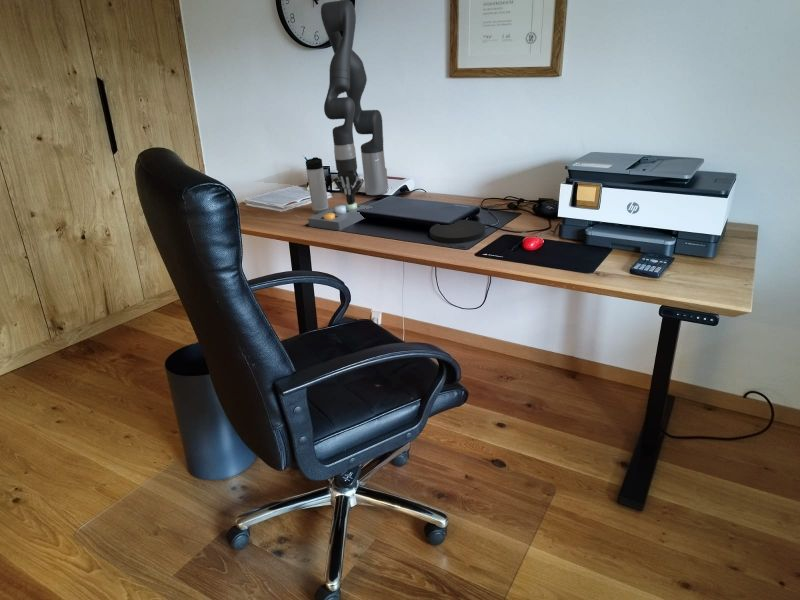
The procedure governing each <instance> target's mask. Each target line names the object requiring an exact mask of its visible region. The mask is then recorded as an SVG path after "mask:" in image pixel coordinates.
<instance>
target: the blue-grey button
mask: <svg viewBox="0 0 800 600" xmlns="http://www.w3.org/2000/svg"><path fill="white" fill-rule="evenodd" d="M338 205H339V206H337V205H335V206H336V207H335V206H334V207H335V214H339V215H343V214H345V213H346V206H345V205H340V204H338Z"/></svg>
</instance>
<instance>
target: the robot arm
mask: <svg viewBox="0 0 800 600" xmlns="http://www.w3.org/2000/svg"><path fill="white" fill-rule="evenodd" d="M356 14H357V13H356V9H355V6H354V4H353V2H352V1H351V0H334V1H328V2H324V3H322V5H321V7H320V16H321V21H322V24H323V27H324V30H325V33H326V35H327V38H328V40H329V43H330V46H331V47H332V51H333V53H334V54H333V56H332V58H331V62H330V64H329V84H328V89H327V93H326V96H325V97H326V98H325V100H324V105H323V111H324V115H325V116H326V118H327V119H329V120H332V121H333V120H344V121H343V124H341V125H338V126H335V127H334V128H332V138H333V139H332V140H333V149H334V151H333V153H334V161H335V168H336V171H337V176H336V177H334V178H333V180H332V181H333V183H334V184H335V186H336V187H337V188H338V189H339V191H340V193H343V194H345V200H346V203H348V204H349V205H352V204H354V202H355V203H356V199H355V193H359V192H360V190H361V187H362V185H363V184H364V191H365V194H366V195H367V196H368V195H369V196H378V195H380V196H381V195H384V194H387V193H388V191H387V189H388V190H389V183H388V173H387V171H388V170H387V167H386V161H385V150H384V133H383V131H384V129H383V128H384V127H383V117H382V113H381V112H380V110H378V109H367V110H366V109H363V108H362V105H361V100H362V96H363V94H364V91H365V88H366V85H367V83H368V82H367V81H368V77H367V73H366V69H365V66H364V63H363V60H362V59H361V57H359V55H358V54H357V53H356V52H355V51H354V50H353V45H354V39H355V31H356V23H357V22H356V21H357V20H356V18H357V16H356ZM342 31H343V32H342ZM340 32H342V35H341V33H340ZM344 93H346V96H345V97H343V96H342V97H339V96H340V95H341V94H344ZM353 129H355V132H356V133H357V134H358V135H372V138H371V139H370V140H369V141H366V142H365V143H362V144H361V145H360V152H361V162H362V172H363V178H360V177H359V174H358V172H357V170H358V163H357V154H356V147H355V140H354V132H353Z"/></svg>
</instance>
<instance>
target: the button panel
mask: <svg viewBox="0 0 800 600" xmlns="http://www.w3.org/2000/svg"><path fill="white" fill-rule="evenodd" d="M346 204H347V202H346V203H345V202H342V203H340V204H338V205H335V206H332V208H331V207H330V208H329V209H328V210H326V211H324V212H321V213H316V214H315V215H313V216H309V217H308V218H307V220H308V227H311V228H317V229H326V230H330V231H331V230H332V231H338V232H339V231H342V230H344V229H347V228H348V227H350V226H352V225H354V224H356V223H358V222H360V221H362V220H364V219H365V218H364V217H363V216H362V215H361V214H360V212H357V210H359V209H365V208H366V209H369V208H373V207H374V206H372V205H364V204H363V205H362V204H357V208H356V209H353V210H351V209H346V213H345V214H343V215H339V214H335V207H336V206H339V205H345V206H346ZM373 209H374V208H373ZM326 213H334V214H335V218H334V219H332V220H325V219H324V217H323V215H324V214H326Z"/></svg>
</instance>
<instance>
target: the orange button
mask: <svg viewBox="0 0 800 600" xmlns="http://www.w3.org/2000/svg"><path fill="white" fill-rule="evenodd" d="M323 217H324V219H325V220H332V219H334V218H335V214H334V213H326V214H324V215H323Z"/></svg>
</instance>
